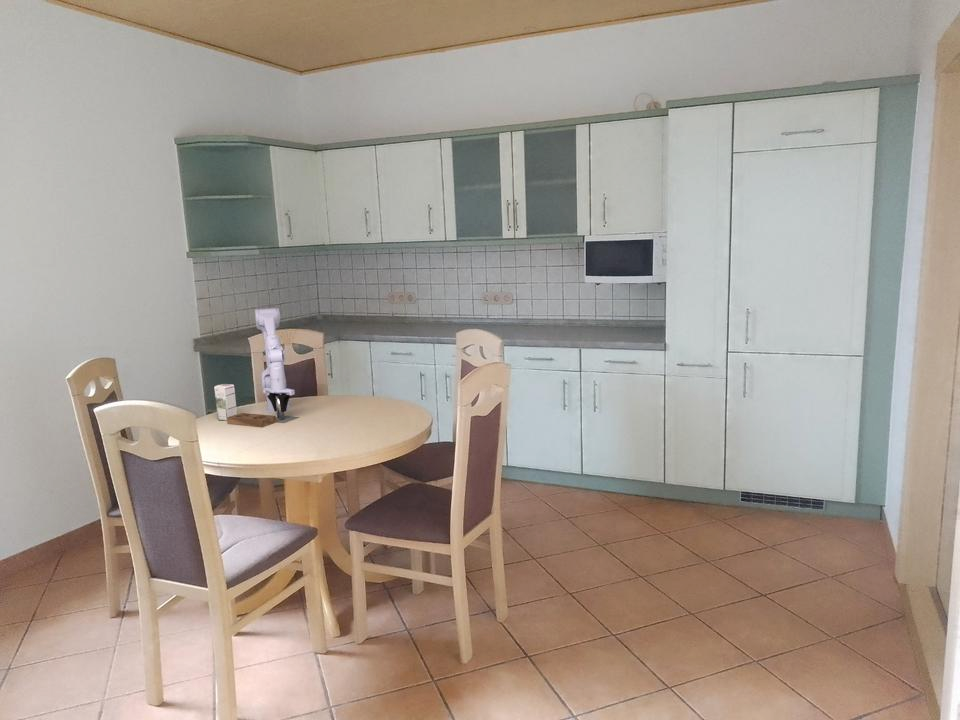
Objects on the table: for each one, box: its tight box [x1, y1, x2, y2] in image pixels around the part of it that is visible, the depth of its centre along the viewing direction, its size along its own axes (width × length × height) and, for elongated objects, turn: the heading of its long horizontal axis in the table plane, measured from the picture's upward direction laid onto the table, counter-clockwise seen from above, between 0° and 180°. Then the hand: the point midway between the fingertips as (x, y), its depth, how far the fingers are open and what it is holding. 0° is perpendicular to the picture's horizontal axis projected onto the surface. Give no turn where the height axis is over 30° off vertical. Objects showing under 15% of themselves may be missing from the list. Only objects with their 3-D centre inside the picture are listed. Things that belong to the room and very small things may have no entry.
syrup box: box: [213, 383, 238, 422], centre depth 289 cm, size 6×6×14 cm
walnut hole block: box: [226, 412, 277, 429], centre depth 281 cm, size 8×18×3 cm, turn 65°
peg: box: [275, 395, 286, 418], centre depth 284 cm, size 3×3×9 cm
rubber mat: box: [275, 415, 301, 424], centre depth 285 cm, size 10×10×1 cm
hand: (280, 411), depth 284 cm, fingers closed on peg, 3 cm apart
